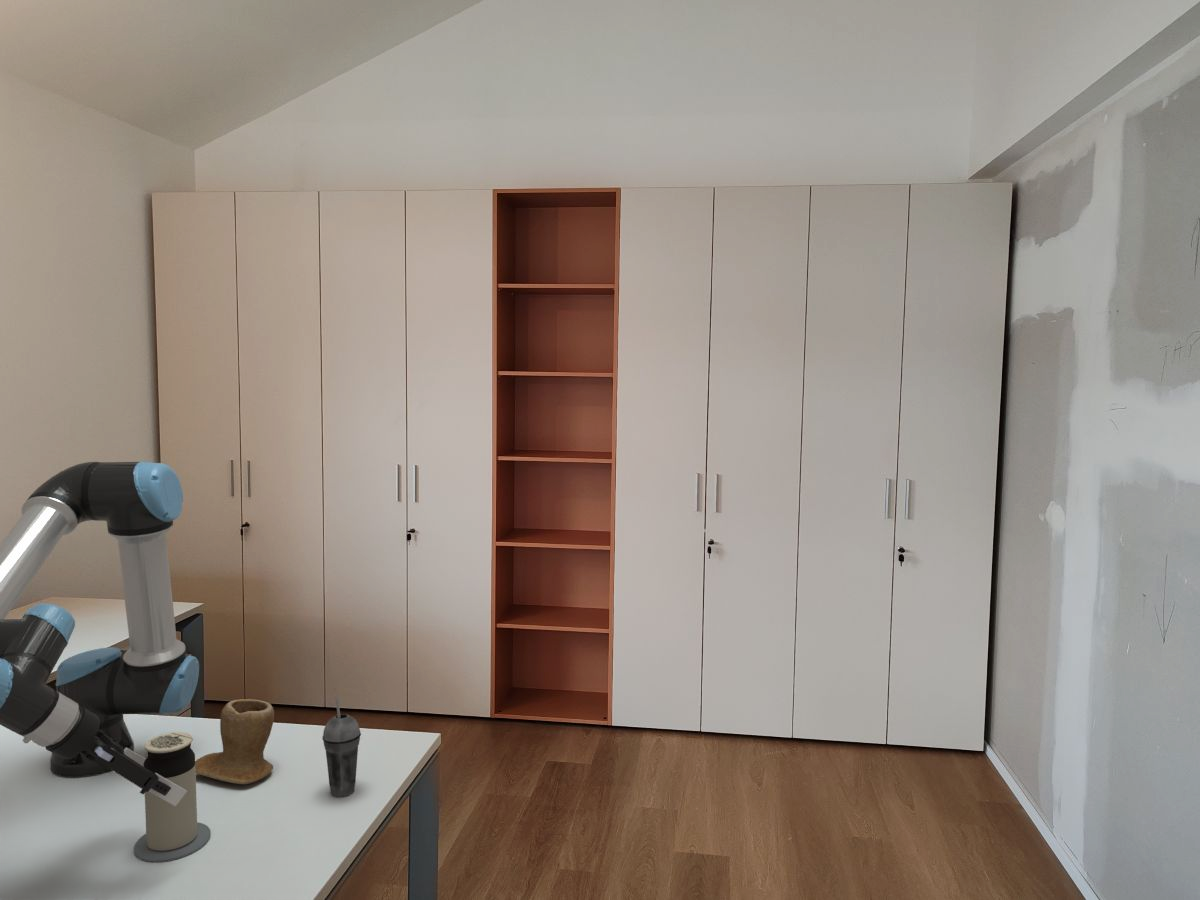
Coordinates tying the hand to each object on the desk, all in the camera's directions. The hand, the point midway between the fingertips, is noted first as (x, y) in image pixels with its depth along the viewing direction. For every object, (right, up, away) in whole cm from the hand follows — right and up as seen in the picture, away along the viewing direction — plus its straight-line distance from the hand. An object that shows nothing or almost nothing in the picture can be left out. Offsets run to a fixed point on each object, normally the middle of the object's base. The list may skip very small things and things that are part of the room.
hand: (165, 784), depth 145 cm
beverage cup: (+25, -10, +20) cm, 33 cm away
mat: (0, -11, +2) cm, 11 cm away
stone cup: (+1, -9, +27) cm, 29 cm away
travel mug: (0, -11, +2) cm, 11 cm away
